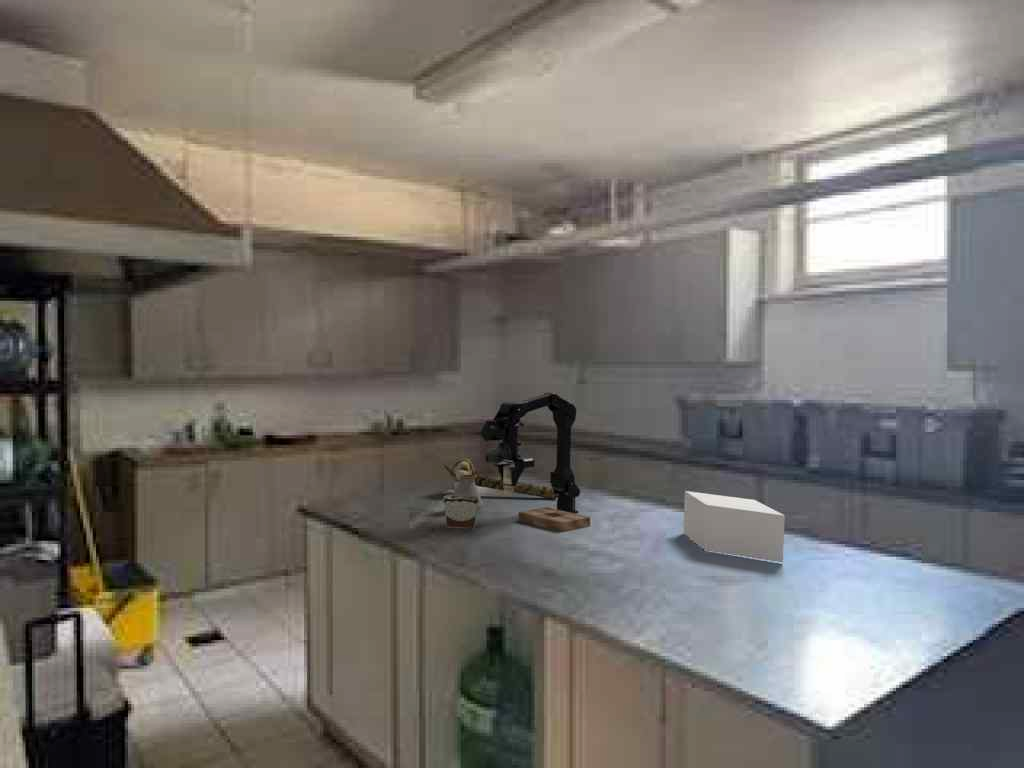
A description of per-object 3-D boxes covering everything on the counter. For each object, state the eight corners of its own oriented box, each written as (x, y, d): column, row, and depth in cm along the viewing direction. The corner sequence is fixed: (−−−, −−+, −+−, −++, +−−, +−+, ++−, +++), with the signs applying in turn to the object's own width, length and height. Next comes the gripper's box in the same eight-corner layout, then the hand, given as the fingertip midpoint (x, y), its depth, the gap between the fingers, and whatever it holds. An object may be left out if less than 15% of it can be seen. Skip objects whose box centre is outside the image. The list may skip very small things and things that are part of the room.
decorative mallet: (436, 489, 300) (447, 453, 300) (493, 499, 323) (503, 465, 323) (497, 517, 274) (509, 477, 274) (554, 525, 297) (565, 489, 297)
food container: (481, 524, 250) (482, 494, 250) (479, 529, 244) (479, 498, 244) (445, 522, 251) (445, 493, 251) (441, 527, 245) (442, 496, 245)
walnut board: (546, 515, 267) (547, 507, 266) (589, 526, 252) (590, 517, 252) (518, 520, 257) (518, 512, 257) (561, 532, 242) (561, 522, 242)
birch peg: (509, 491, 258) (509, 465, 258) (517, 493, 255) (518, 466, 255) (500, 492, 255) (500, 466, 255) (508, 494, 252) (509, 467, 252)
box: (706, 531, 250) (707, 488, 249) (806, 561, 215) (808, 512, 215) (659, 537, 240) (661, 493, 239) (757, 569, 205) (759, 518, 205)
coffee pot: (489, 512, 269) (490, 471, 268) (462, 516, 262) (463, 473, 261) (456, 502, 286) (456, 463, 285) (430, 505, 279) (431, 465, 278)
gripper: (474, 438, 256) (473, 483, 256) (511, 444, 242) (510, 492, 243) (498, 436, 263) (497, 480, 264) (536, 441, 250) (534, 488, 250)
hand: (509, 485), depth 255 cm, fingers closed on birch peg, 4 cm apart
